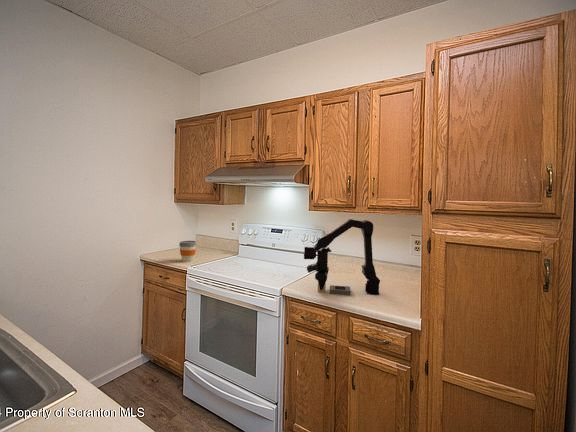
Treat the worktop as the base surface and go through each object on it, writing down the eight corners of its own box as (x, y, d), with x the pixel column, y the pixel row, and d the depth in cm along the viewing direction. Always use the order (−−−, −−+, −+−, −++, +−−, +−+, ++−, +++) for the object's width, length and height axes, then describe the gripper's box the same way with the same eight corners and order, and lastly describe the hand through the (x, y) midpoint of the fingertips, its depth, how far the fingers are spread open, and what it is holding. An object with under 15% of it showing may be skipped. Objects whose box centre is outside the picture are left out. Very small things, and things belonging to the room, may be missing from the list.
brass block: (325, 290, 161) (325, 278, 161) (325, 292, 157) (325, 280, 157) (318, 289, 162) (318, 277, 161) (317, 292, 158) (318, 279, 158)
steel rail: (350, 291, 160) (350, 286, 160) (350, 295, 153) (350, 291, 153) (330, 289, 163) (330, 285, 162) (329, 294, 155) (329, 289, 155)
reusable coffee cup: (183, 263, 219) (183, 243, 217) (177, 260, 228) (176, 241, 227) (199, 261, 227) (198, 242, 226) (192, 258, 236) (192, 240, 235)
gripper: (309, 255, 169) (309, 281, 170) (305, 262, 151) (305, 291, 152) (328, 256, 167) (328, 282, 168) (327, 263, 149) (326, 293, 150)
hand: (321, 287), depth 160 cm, fingers open, 9 cm apart
